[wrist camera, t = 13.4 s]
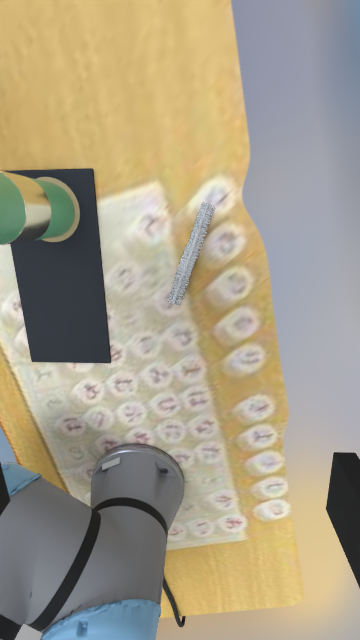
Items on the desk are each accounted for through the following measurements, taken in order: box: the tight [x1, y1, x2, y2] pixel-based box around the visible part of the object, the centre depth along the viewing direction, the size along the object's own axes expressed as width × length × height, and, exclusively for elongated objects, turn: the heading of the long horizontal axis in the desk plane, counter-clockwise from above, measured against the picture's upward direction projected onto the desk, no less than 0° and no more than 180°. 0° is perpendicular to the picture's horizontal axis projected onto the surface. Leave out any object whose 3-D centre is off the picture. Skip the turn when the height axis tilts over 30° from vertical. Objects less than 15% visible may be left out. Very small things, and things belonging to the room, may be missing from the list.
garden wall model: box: [168, 202, 215, 305], centre depth 37 cm, size 12×2×6 cm, turn 161°
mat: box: [4, 169, 111, 363], centre depth 42 cm, size 26×12×1 cm, turn 1°
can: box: [0, 171, 75, 245], centre depth 32 cm, size 16×7×7 cm
